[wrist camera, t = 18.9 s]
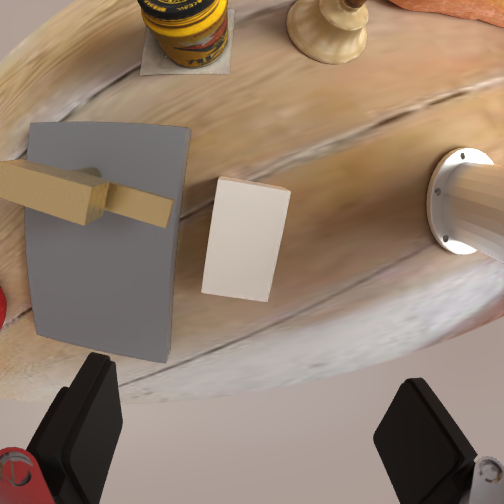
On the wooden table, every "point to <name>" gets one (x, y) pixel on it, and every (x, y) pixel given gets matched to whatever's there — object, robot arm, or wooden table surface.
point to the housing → (107, 241)
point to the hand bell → (328, 29)
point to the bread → (460, 8)
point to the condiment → (187, 36)
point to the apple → (2, 307)
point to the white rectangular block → (244, 238)
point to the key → (79, 194)
